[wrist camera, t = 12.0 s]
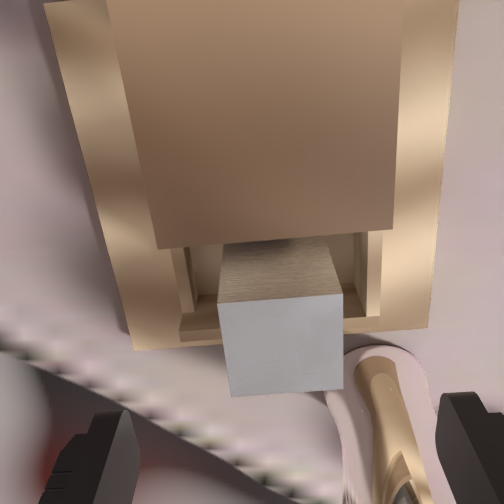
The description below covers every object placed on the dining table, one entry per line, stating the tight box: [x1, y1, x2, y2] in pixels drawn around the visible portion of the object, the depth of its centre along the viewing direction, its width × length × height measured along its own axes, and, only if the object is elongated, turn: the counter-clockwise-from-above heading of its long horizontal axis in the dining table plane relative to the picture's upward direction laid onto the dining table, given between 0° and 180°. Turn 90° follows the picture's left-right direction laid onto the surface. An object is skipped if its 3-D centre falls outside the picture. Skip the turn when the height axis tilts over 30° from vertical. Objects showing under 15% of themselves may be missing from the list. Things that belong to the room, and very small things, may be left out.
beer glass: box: [323, 345, 456, 504], centre depth 22 cm, size 7×7×15 cm
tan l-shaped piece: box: [43, 0, 459, 351], centre depth 16 cm, size 17×16×14 cm
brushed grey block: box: [217, 235, 343, 397], centre depth 19 cm, size 4×4×8 cm
